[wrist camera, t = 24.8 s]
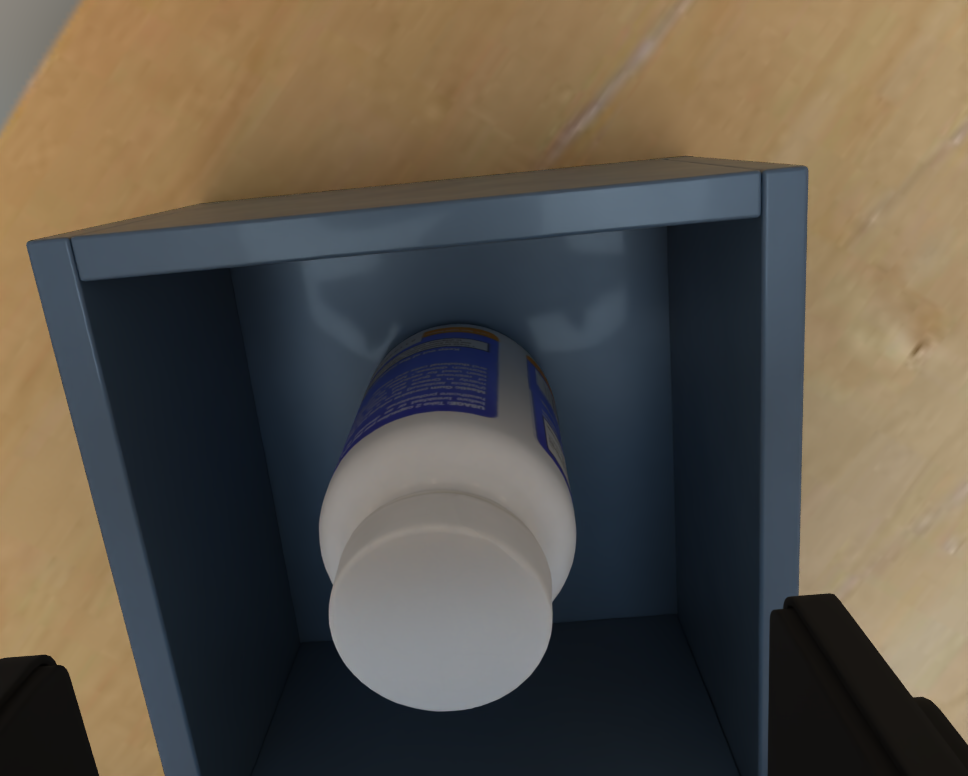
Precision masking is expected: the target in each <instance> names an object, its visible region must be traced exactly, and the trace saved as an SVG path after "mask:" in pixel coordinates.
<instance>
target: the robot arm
mask: <svg viewBox="0 0 968 776" xmlns="http://www.w3.org/2000/svg"><path fill="white" fill-rule="evenodd" d="M0 776H99V774H98V770H97V767H96V764H95V760H94V757H93V754H92V750H91V747H90V743H89V740H88V737H87V733H86V730H85V727H84V723H83V720H82V716H81V713H80V710H79V706H78V703H77V700H76V696H75V693H74V689H73V686H72V683H71V679H70V676H69V673H68V671H67V669H66V668H65V667H64V666H61V665H57V664H56V662H55V661H54V659H53V658H52V657H51V656H47V655H36V656H23V657H10V658H3V659H0ZM768 776H968V745H967V743H966V742H965V741H964V740H963V738H962V737H961V736H960V734H959V733H958V732H957V731H956V729H955V728H954V727H953V726H952V724H951V723H950V722H949V720H948V719H947V718H946V717H945V715H944V714H943V713H942V712H941V710H940V709H939V708H938V707H937V706H936V705H935V704H934V703H933V702H932V701H931V700H929V699H926V698H924V697H914V698H913V697H912V696H911V695H910V693H909V692H908V691H907V689H906V688H905V687H904V685H903V684H902V683H901V681H900V680H899V679H898V677H897V676H896V675H895V673H894V672H893V671H892V669H891V668H890V667H889V665H888V664H887V663H886V661H885V660H884V659H883V657H882V656H881V655H880V653H879V652H878V651H877V649H876V648H875V647H874V645H873V644H872V643H871V641H870V640H869V639H868V637H867V636H866V635H865V633H864V632H863V631H862V629H861V628H860V627H859V625H858V624H857V623H856V621H855V620H854V619H853V617H852V616H851V615H850V613H849V612H848V611H847V609H846V608H845V607H844V605H843V604H842V603H841V601H840V600H839V599H838V598H837V597H836V596H835V595H834V594H830V593H829V594H816V595H804V596H791V597H787V598H786V599H785V601H784V604H783V609H775V610H772V611H771V614H770V629H769V702H768Z"/></svg>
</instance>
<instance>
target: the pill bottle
mask: <svg viewBox="0 0 968 776" xmlns="http://www.w3.org/2000/svg"><path fill="white" fill-rule="evenodd" d="M319 540H320V548H321V555H322V559H323V562H324V565H325V568H326V571H327V573H328V575H329V577H330V580H331V582H332V584H333V588H332V591H331V595H330V602H329V626H330V630H331V635H332V639H333V642H334V644H335V647H336V649H337V651H338V653H339V655H340V657H341V659H342V660H343V662H344V663H345V665H346V666H347V668H348V669H349V670H350V671H351V672H352V673H353V675H355V676H356V677H357V678H358V679H359V680H360V681H361V682H362V683H363V684H365V685H366V686H367V687H368V688H370V689H371V690H373V691H374V692H376V693H378V694H379V695H381V696H383V697H385V698H386V699H389V700H391V701H393V702H395V703H398V704H402V705H405V706H408V707H412V708H416V709H422V710H428V711H457V710H466V709H472V708H474V707H479V706H482V705H485V704H488V703H490V702H493V701H495V700H498V699H500V698H501V697H503V696H505V695H507V694H508V693H510V692H511V691H513V690H514V689H516V688H517V687H518V686H519V685H521V684H522V683H523V682H524V681H525V680H526V679H527V678H528V677H529V676H530V675H531V674H532V673H533V671H534V670H535V669H536V667H537V666H538V665H539V663H540V661H541V659H542V658H543V656H544V654H545V652H546V650H547V647H548V643H549V640H550V637H551V632H552V616H553V612H552V602H553V600H554V599H555V598H556V596H557V595H558V594H559V592H560V591H561V589H562V587H563V585H564V583H565V581H566V579H567V577H568V575H569V572H570V569H571V566H572V563H573V559H574V554H575V548H576V522H575V514H574V508H573V501H572V495H571V490H570V485H569V479H568V474H567V469H566V463H565V458H564V453H563V447H562V441H561V436H560V429H559V423H558V418H557V412H556V406H555V401H554V398H553V394H552V391H551V388H550V386H549V384H548V381H547V379H546V377H545V375H544V373H543V372H542V370H541V368H540V367H539V365H538V364H537V363H536V361H535V360H534V359H533V358H532V357H531V356H530V354H529V353H528V352H527V351H525V350H524V349H523V348H522V347H521V346H520V345H519V344H517V343H516V342H515V341H513V340H511V339H510V338H508V337H507V336H505V335H503V334H501V333H499V332H496V331H494V330H491V329H488V328H485V327H481V326H476V325H469V324H449V325H442V326H437V327H433V328H429V329H426V330H423V331H421V332H419V333H417V334H415V335H413V336H411V337H409V338H408V339H406V340H404V341H403V342H401V343H400V344H399V345H397V346H396V347H395V348H394V349H393V350H391V351H390V352H389V353H388V355H387V356H386V357H385V358H384V359H383V360H382V362H381V363H380V365H379V366H378V368H377V369H376V371H375V373H374V374H373V376H372V378H371V381H370V383H369V385H368V387H367V390H366V392H365V395H364V397H363V400H362V402H361V405H360V407H359V410H358V413H357V415H356V418H355V420H354V423H353V425H352V428H351V430H350V433H349V435H348V438H347V440H346V443H345V445H344V448H343V451H342V453H341V455H340V458H339V461H338V463H337V465H336V468H335V470H334V473H333V475H332V477H331V480H330V483H329V486H328V489H327V491H326V494H325V497H324V500H323V504H322V508H321V513H320V520H319Z"/></svg>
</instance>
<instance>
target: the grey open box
mask: <svg viewBox="0 0 968 776" xmlns="http://www.w3.org/2000/svg"><path fill="white" fill-rule="evenodd" d="M807 210H808V168H807V167H806V166H803V165H791V164H778V163H766V162H753V161H741V160H728V159H716V158H703V157H693V156H681V157H670V158H660V159H650V160H640V161H630V162H619V163H609V164H599V165H589V166H579V167H568V168H558V169H548V170H538V171H528V172H517V173H507V174H497V175H487V176H476V177H466V178H456V179H446V180H436V181H425V182H415V183H405V184H395V185H385V186H374V187H364V188H354V189H344V190H334V191H323V192H313V193H303V194H293V195H283V196H272V197H262V198H252V199H242V200H232V201H221V202H211V203H201V204H196V205H192V206H187V207H183V208H178V209H173V210H169V211H164V212H160V213H155V214H150V215H146V216H141V217H137V218H132V219H127V220H123V221H118V222H113V223H109V224H104V225H100V226H95V227H90V228H86V229H81V230H77V231H72V232H67V233H63V234H58V235H53V236H49V237H44V238H40V239H35V240H30V241H28V242H27V245H26V246H27V250H28V253H29V257H30V261H31V265H32V269H33V273H34V276H35V280H36V284H37V288H38V292H39V296H40V299H41V303H42V307H43V311H44V315H45V319H46V322H47V326H48V330H49V334H50V338H51V342H52V345H53V349H54V353H55V357H56V361H57V364H58V368H59V372H60V376H61V380H62V384H63V387H64V391H65V395H66V399H67V403H68V407H69V410H70V414H71V418H72V422H73V426H74V430H75V433H76V437H77V441H78V445H79V449H80V452H81V456H82V460H83V464H84V468H85V472H86V475H87V479H88V483H89V487H90V491H91V495H92V498H93V502H94V506H95V510H96V514H97V518H98V521H99V525H100V529H101V533H102V537H103V541H104V544H105V548H106V552H107V556H108V560H109V563H110V567H111V571H112V575H113V579H114V583H115V586H116V590H117V594H118V598H119V602H120V606H121V609H122V613H123V617H124V621H125V625H126V629H127V632H128V636H129V640H130V644H131V648H132V651H133V655H134V659H135V663H136V667H137V671H138V674H139V678H140V682H141V686H142V690H143V694H144V697H145V701H146V705H147V709H148V713H149V717H150V720H151V724H152V728H153V732H154V736H155V739H156V743H157V747H158V751H159V755H160V759H161V762H162V766H163V770H164V774H165V776H768V702H769V629H770V614H771V611H772V610H775V609H783V604H784V601H785V599H786V598H787V597H791V596H799V554H800V511H801V468H802V425H803V382H804V339H805V296H806V253H807ZM449 324H469V325H476V326H481V327H485V328H488V329H491V330H494V331H496V332H499V333H501V334H503V335H505V336H507V337H508V338H510V339H511V340H513V341H515V342H516V343H517V344H519V345H520V346H521V347H522V348H523V349H524V350H525V351H527V352H528V353H529V354H530V356H531V357H532V358H533V359H534V360H535V361H536V363H537V364H538V365H539V367H540V368H541V370H542V372H543V373H544V375H545V377H546V379H547V381H548V384H549V386H550V388H551V391H552V394H553V398H554V401H555V406H556V412H557V418H558V423H559V429H560V436H561V441H562V447H563V453H564V458H565V463H566V469H567V474H568V479H569V485H570V490H571V495H572V501H573V508H574V514H575V522H576V548H575V554H574V559H573V563H572V566H571V569H570V572H569V575H568V577H567V579H566V581H565V583H564V585H563V587H562V589H561V591H560V592H559V594H558V595H557V596H556V598H555V599H554V600H553V602H552V612H553V616H552V632H551V637H550V640H549V643H548V647H547V650H546V652H545V654H544V656H543V658H542V659H541V661H540V663H539V665H538V666H537V667H536V669H535V670H534V671H533V673H532V674H531V675H530V676H529V677H528V678H527V679H526V680H525V681H524V682H523V683H522V684H521V685H519V686H518V687H517V688H516V689H514V690H513V691H511V692H510V693H508V694H507V695H505V696H503V697H501V698H500V699H498V700H495V701H493V702H490V703H488V704H485V705H482V706H479V707H474V708H472V709H466V710H457V711H428V710H422V709H416V708H412V707H408V706H405V705H402V704H398V703H395V702H393V701H391V700H389V699H386V698H385V697H383V696H381V695H379V694H378V693H376V692H374V691H373V690H371V689H370V688H368V687H367V686H366V685H365V684H363V683H362V682H361V681H360V680H359V679H358V678H357V677H356V676H355V675H353V673H352V672H351V671H350V670H349V669H348V668H347V666H346V665H345V663H344V662H343V660H342V659H341V657H340V655H339V653H338V651H337V649H336V647H335V644H334V642H333V639H332V635H331V630H330V626H329V602H330V595H331V591H332V588H333V584H332V582H331V580H330V577H329V575H328V573H327V571H326V568H325V565H324V562H323V559H322V555H321V548H320V540H319V520H320V513H321V508H322V504H323V500H324V497H325V494H326V491H327V489H328V486H329V483H330V480H331V477H332V475H333V473H334V470H335V468H336V465H337V463H338V461H339V458H340V455H341V453H342V451H343V448H344V445H345V443H346V440H347V438H348V435H349V433H350V430H351V428H352V425H353V423H354V420H355V418H356V415H357V413H358V410H359V407H360V405H361V402H362V400H363V397H364V395H365V392H366V390H367V387H368V385H369V383H370V381H371V378H372V376H373V374H374V373H375V371H376V369H377V368H378V366H379V365H380V363H381V362H382V360H383V359H384V358H385V357H386V356H387V355H388V353H389V352H390V351H391V350H393V349H394V348H395V347H396V346H397V345H399V344H400V343H401V342H403V341H404V340H406V339H408V338H409V337H411V336H413V335H415V334H417V333H419V332H421V331H423V330H426V329H429V328H433V327H437V326H442V325H449Z"/></svg>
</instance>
